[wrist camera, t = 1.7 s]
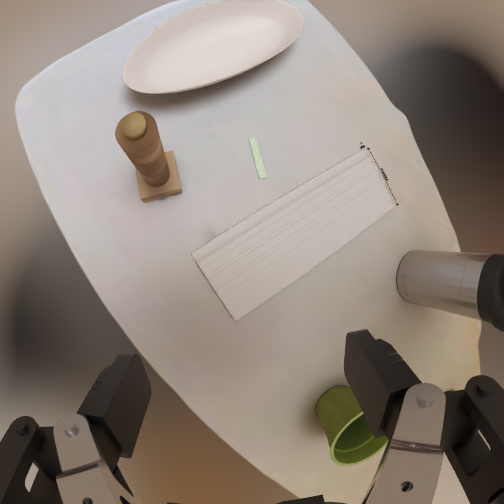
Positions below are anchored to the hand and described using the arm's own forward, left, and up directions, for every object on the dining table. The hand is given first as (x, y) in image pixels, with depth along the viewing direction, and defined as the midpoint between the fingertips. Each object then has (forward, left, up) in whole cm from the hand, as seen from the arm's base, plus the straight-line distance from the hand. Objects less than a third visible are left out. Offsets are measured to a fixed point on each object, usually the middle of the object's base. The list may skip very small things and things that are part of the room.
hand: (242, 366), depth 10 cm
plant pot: (-14, +27, -27) cm, 41 cm away
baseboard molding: (-15, -4, -28) cm, 32 cm away
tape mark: (-11, -14, -27) cm, 32 cm away
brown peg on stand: (+3, -14, -27) cm, 30 cm away
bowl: (-9, -33, -27) cm, 43 cm away
